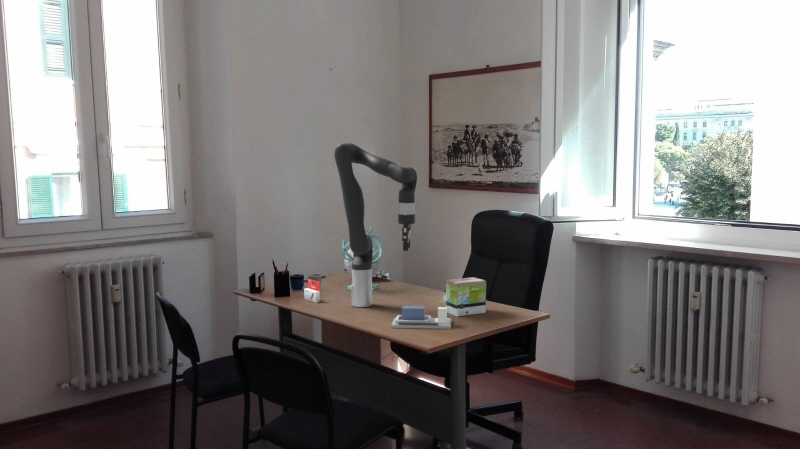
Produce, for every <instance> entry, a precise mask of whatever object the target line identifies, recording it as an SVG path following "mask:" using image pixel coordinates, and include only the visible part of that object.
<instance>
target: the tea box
mask: <svg viewBox="0 0 800 449" xmlns="http://www.w3.org/2000/svg"><path fill="white" fill-rule="evenodd" d="M445 282H446V283H445V288H446V289H445V291H446V292H445V307H447V314H449V315H452V316H455V317H460V316H461V317H462V316H469V315H479V314H485V313H486V309H487V306H486V304H487V281H486V280H485V279H481V278H477V277H464V278H452V279H446V281H445Z"/></svg>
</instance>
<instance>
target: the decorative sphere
mask: <svg viewBox="0 0 800 449" xmlns="http://www.w3.org/2000/svg"><path fill="white" fill-rule="evenodd" d="M376 251H377V250H376V248H374V247H373V253H375V252H376ZM347 252H348V254H349V255H350V256H352V257H353V252H352V250H351V249H350V248H349V249H348V250H347ZM378 256H379V252H378V253H376V254H375V255H374V256H373V260H372V261H374V260H375V259H376V258H377V257H378ZM344 257H346V258H348V259H350V258H349V257H348V256H347V255H346V254H345V255H344ZM380 264H381V258H380V259H379V260H378V261H377V262H376V263H374V264H372V277H373V276H374V275H375V274H376V273H377V272H378V269H379V268H380ZM344 267H345V271H347V273H348V274H349V275H350V276H351V277H352V261H348V260H346V259H345V258H344Z"/></svg>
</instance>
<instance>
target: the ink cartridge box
mask: <svg viewBox="0 0 800 449" xmlns="http://www.w3.org/2000/svg"><path fill="white" fill-rule="evenodd" d="M320 287H321V281H319V280H318V281H317V280H314V279H310V278H307V288H306V287H305V288H303V290H304V294H303V295H304V299H305V300H307V301H310V302H314V303H321V290H320V289H321V288H320Z"/></svg>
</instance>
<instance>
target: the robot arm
mask: <svg viewBox="0 0 800 449" xmlns="http://www.w3.org/2000/svg"><path fill="white" fill-rule="evenodd" d="M333 155H334V156H333V157H334V161H335V163H336V168H337V171H338V172H337V173H338V175H339V181H340V188H341V194H342V199H343V205H344V206H343V207H344V212H345V215H346V221H347V225H348V239H349V241H348V242H350V244H349V247H350V248H349V249H351V250H352V252H353V261H352V276H351V285H352V286H351V290H350V291H351V307H357V308H367V307H370V306H373V291H372V284H373V276H372V260H373V248H374V247H373V246H374V245H373V239H371V238H370V236H368V235H367V233H366V230H365V223H364V222H365V199H364V193H363V190H362V187H361V185H360V183H359V182H358V180H357V178H356V176H355V173H354V170H353V164H357V165H358V164H359V165H362V166H365V167H367V168H368V169H371V171H373V172H375V173H377V174H379V175H382V176H384V177H387V178H390V179H392V181H395V182H397V183H400V184H402V185H401V189H399V191H398V204H397V205H398V206H397V218H398V219H397V223H398V224H399V225H402V228H401V241H402V247H403V248H402V250H403V252H408V251H409V249H410V248H411V238H412V225H414V224H416V205H415V200H416V199H415V192H416V188H417V183H418V174H417V171H416V169H414V168H413V167H411V166H409V167H405V166H404V167H403V166H400V165H398V164H397V163H396V162H394V161H392V160H388V159H386V158H384V157H380V156H377V155H375V154H372V153H370V152H369V151H366V150H365V149H363V148H362V147H359V146H358V145H356V144H354V143H351V142H345V143H340V144H338V145H336V146H335V148H334V153H333Z"/></svg>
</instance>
